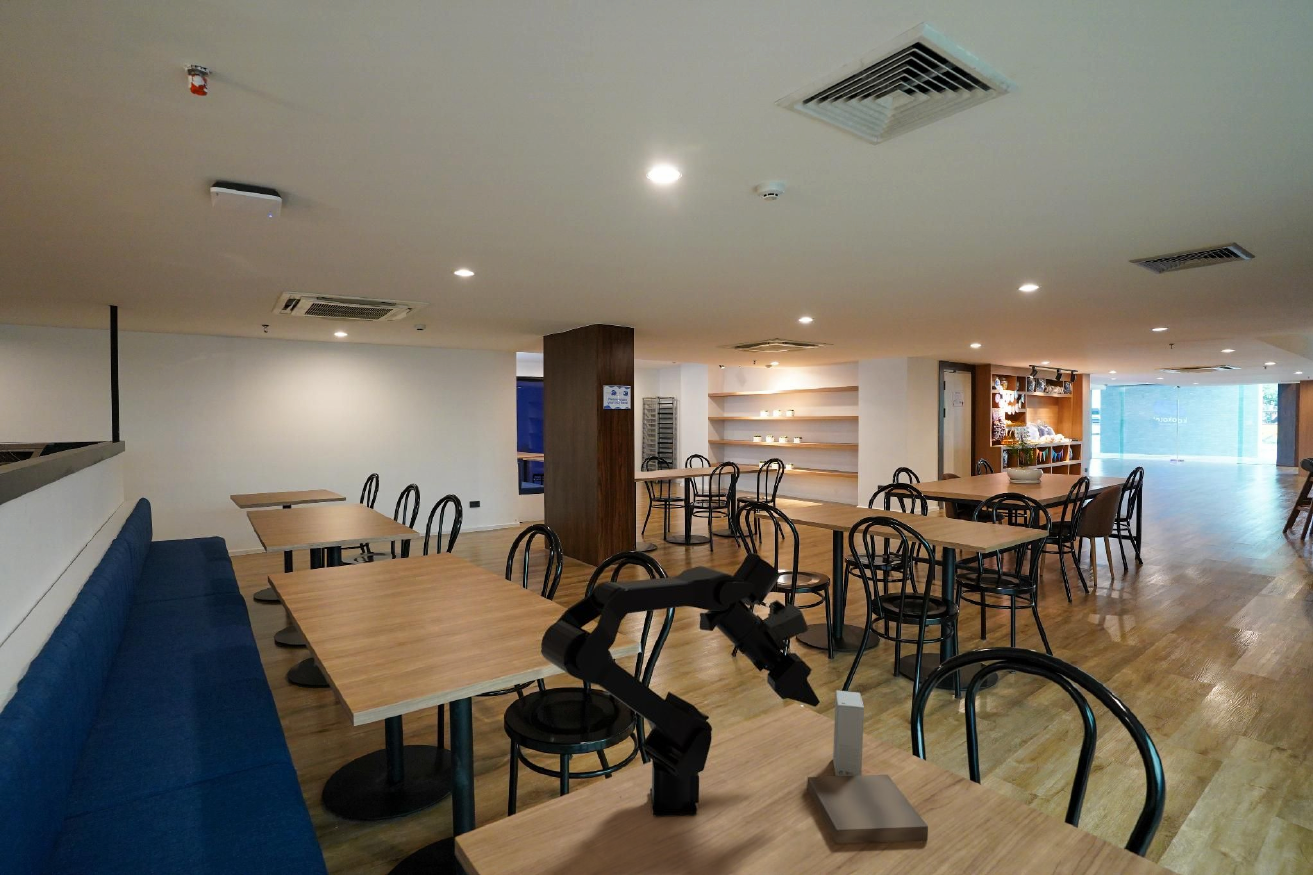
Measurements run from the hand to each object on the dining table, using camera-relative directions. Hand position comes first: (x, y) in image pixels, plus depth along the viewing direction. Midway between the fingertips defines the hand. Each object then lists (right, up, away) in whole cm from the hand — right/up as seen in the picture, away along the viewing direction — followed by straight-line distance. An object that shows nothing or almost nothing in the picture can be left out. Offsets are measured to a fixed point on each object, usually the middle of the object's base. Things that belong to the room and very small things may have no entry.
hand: (806, 691), depth 108 cm
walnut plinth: (+6, -14, -10) cm, 18 cm away
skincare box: (+7, -14, +2) cm, 16 cm away
